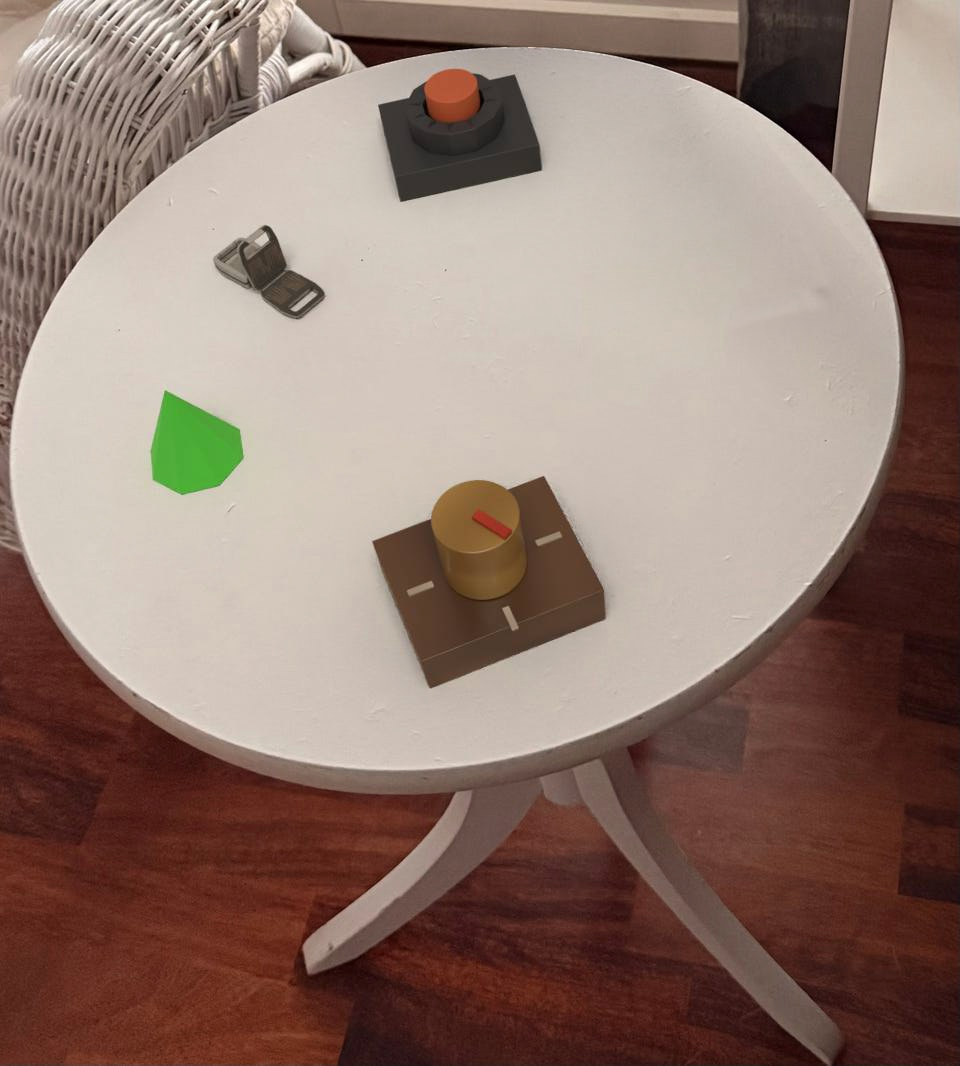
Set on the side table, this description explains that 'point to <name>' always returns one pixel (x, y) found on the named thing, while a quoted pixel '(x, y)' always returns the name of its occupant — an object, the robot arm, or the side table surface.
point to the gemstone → (192, 447)
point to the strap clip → (267, 272)
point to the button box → (460, 141)
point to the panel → (501, 623)
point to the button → (452, 95)
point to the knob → (479, 539)
